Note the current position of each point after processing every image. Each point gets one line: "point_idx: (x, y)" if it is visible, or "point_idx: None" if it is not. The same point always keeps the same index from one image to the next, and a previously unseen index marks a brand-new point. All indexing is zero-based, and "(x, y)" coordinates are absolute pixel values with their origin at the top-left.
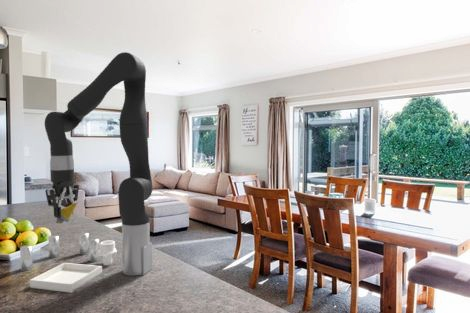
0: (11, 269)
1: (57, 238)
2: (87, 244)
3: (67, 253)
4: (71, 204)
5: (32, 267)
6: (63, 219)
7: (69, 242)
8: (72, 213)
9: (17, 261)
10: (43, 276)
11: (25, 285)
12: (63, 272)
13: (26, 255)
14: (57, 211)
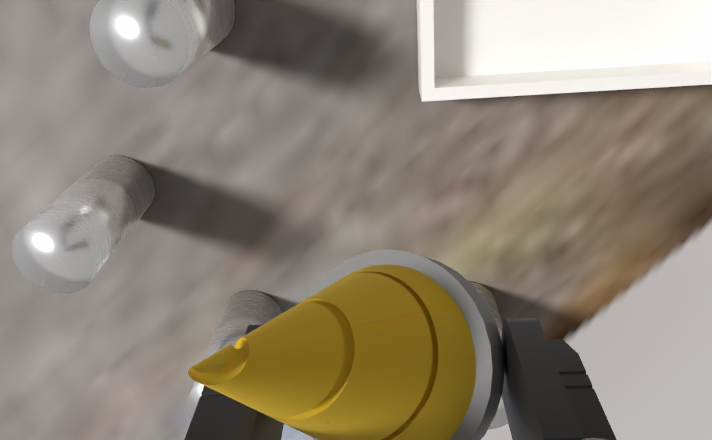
0: None
1: None
2: (88, 184)
3: (175, 283)
4: (247, 435)
5: None
6: (463, 280)
7: (20, 407)
8: (250, 325)
9: None
10: (640, 70)
11: (690, 124)
12: (496, 31)
13: None
14: (589, 393)
